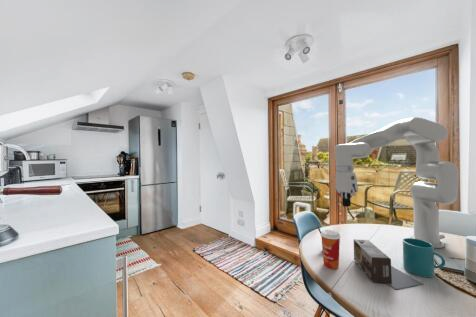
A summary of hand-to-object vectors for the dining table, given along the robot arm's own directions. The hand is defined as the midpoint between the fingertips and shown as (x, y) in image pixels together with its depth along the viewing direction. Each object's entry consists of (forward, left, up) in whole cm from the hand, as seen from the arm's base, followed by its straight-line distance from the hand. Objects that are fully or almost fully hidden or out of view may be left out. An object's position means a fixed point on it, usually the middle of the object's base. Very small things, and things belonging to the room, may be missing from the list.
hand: (346, 206), depth 97 cm
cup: (-13, +24, -22) cm, 35 cm away
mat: (+1, +21, -21) cm, 30 cm away
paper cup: (+18, +11, -21) cm, 30 cm away
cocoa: (+11, 0, -22) cm, 24 cm away
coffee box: (+3, +11, -16) cm, 20 cm away
